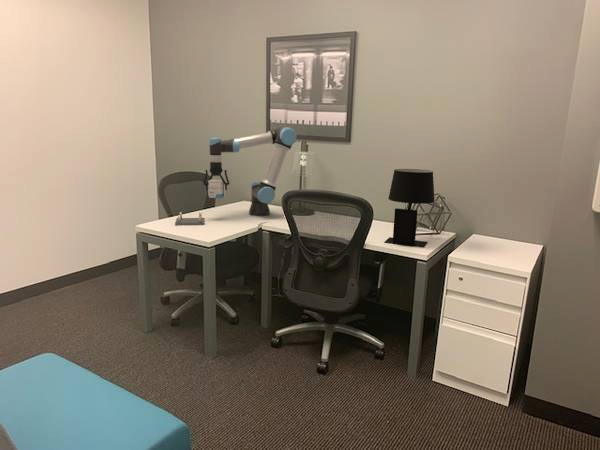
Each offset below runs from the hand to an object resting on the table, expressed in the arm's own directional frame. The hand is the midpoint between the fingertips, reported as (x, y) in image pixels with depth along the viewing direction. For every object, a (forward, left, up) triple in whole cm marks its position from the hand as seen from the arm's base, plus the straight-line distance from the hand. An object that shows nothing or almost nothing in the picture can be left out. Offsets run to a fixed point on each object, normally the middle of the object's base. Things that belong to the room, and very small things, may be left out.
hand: (216, 195), depth 302 cm
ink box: (0, 0, -1) cm, 1 cm away
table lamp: (-107, +69, -17) cm, 128 cm away
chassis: (+17, +9, -17) cm, 26 cm away
